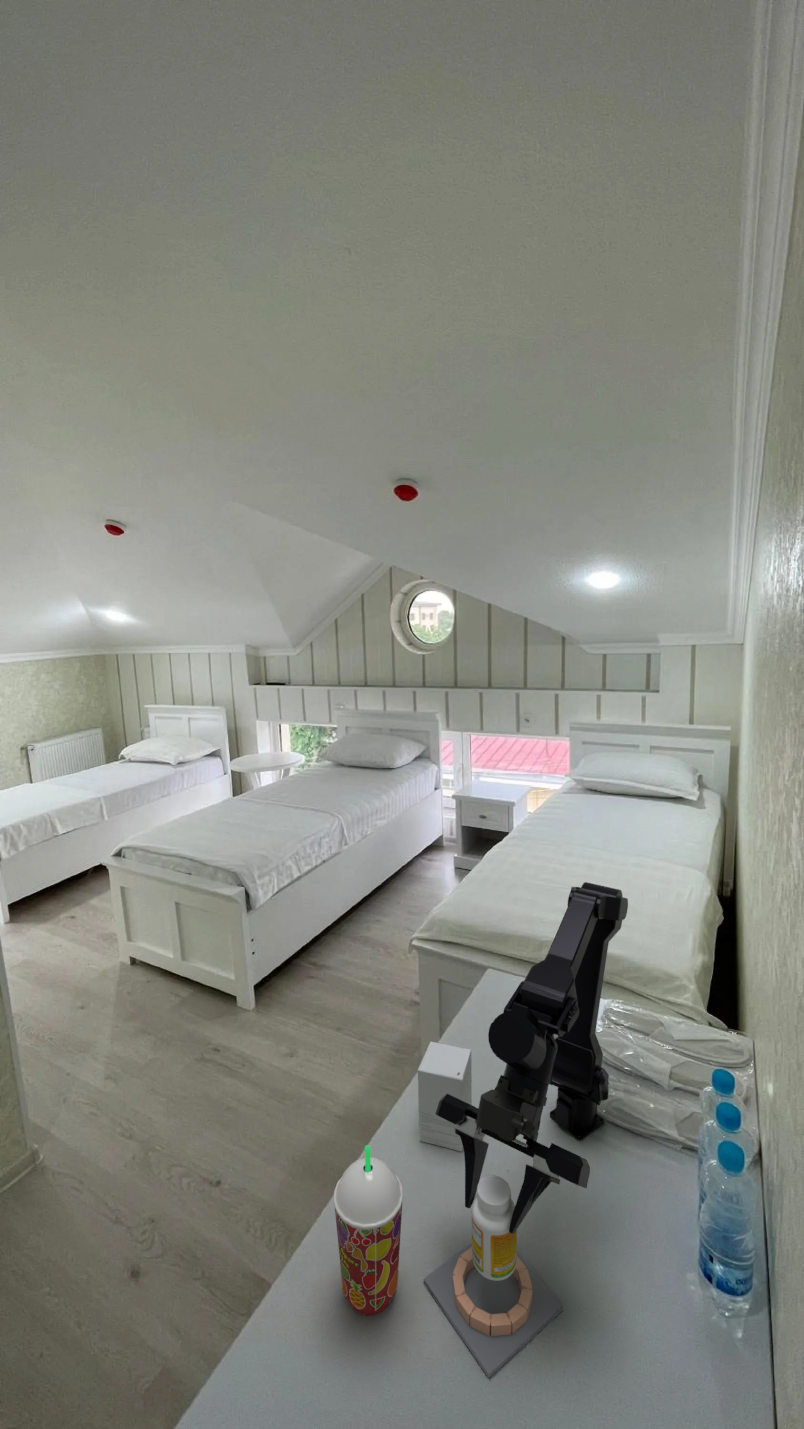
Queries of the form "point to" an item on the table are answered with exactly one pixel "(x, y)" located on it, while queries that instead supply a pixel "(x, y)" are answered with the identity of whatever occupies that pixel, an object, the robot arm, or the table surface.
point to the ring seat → (492, 1307)
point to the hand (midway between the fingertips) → (488, 1220)
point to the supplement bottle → (493, 1229)
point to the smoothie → (369, 1233)
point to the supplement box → (442, 1091)
